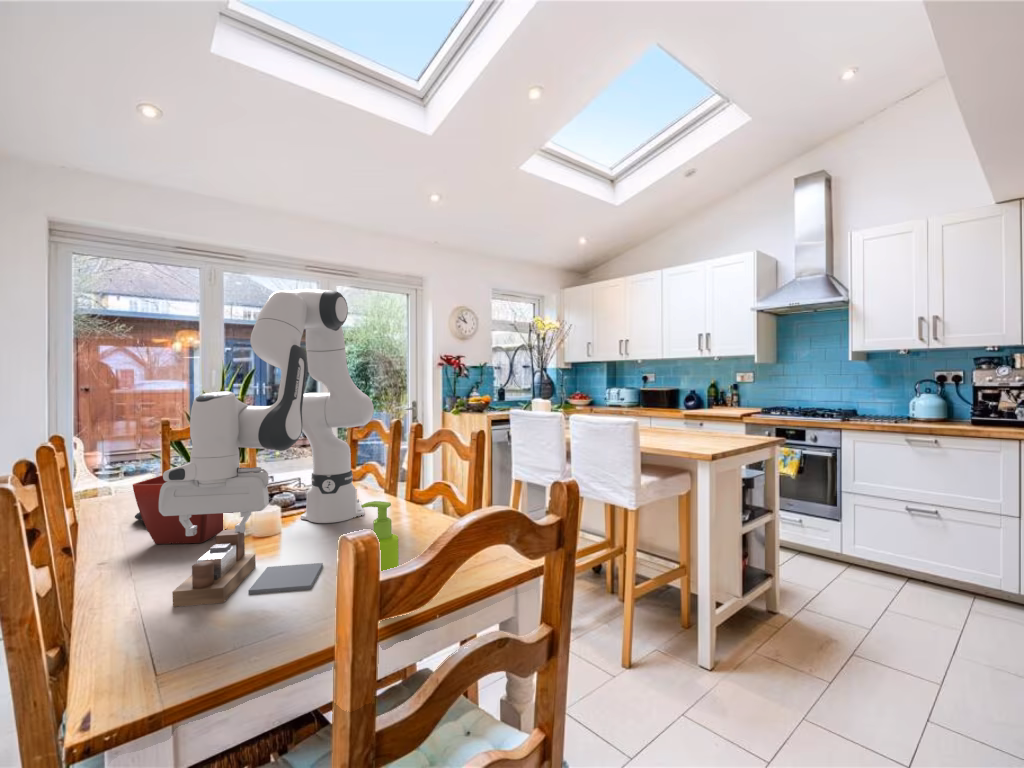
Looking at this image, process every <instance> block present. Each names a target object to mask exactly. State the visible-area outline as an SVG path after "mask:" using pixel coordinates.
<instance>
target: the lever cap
mask: <svg viewBox="0 0 1024 768" xmlns="http://www.w3.org/2000/svg"><path fill="white" fill-rule="evenodd" d="M205 561H212V562H213V563H214V574H218V578H222V577H223V576H224V575H225V574H226V573H227V572H228V571H229V570H230V569H231V568H232V567H233V566H234V565H235V564H236V545H231V544H216V543H215V544H214V545H212V546H211V547H210V548H209V550H208V551H206V553H204V554H203V555H202V556H201V557H200V558H198V559H197V560H196V562H197V563H200V562H205ZM197 563H196V564H197Z"/></svg>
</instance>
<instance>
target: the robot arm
mask: <svg viewBox="0 0 1024 768" xmlns="http://www.w3.org/2000/svg"><path fill="white" fill-rule="evenodd" d="M348 310H349V307H348V303H347V299H346V298H345V296H344V295H343V294H342V293H340V292H339V291H336V290H333V289H332V290H331V289H315V288H314V289H313V288H304V289H294V290H278V291H275V292H272V293H271V294H270V295H269V297H268V298H267V300H266V301H265V302H264V305H262V308H261V310H260V312H259V314H258V315H257V318H256V321H255V324H254V326H253V329H252V331H251V334H250V341H249V342H250V343H249V344H250V346H251V349H252V351H253V353H254V354H255V355H256V356H257V357H258V358H259V359H261V361H263V362H265V363H267V364H268V365H271V366H273V367H274V368H275V367H276V368H278V369H279V370H280V373H281V376H280V382H279V387H278V395H277V400H276V402H274V403H273V404H271V405H249V404H247V403H245V402H243V401H241V400H239V399H238V398H237V396H236V394H235V393H234V392H233V391H214V392H211V391H210V392H207V393H203V394H200V395H198V396H197V397H195V398H194V400H193V402H192V406H191V410H190V421H189V430H190V431H189V435H190V438H191V439H190V440H191V443H192V447H191V451H190V454H189V455H190V456H189V457H190V459H189V460H190V461H189V462H184V463H183V464H180V465H179V466H175V467H172V468H170V469H167V470H165V471H164V472H163V474H162V475H163V479H164V481H168V482H166V483H164V484H163V485H162V487H161V489H160V495H159V512H160V513H161V514H162V515H163V516H177V515H179V521H180V522H181V524H182V525H183V526H184V528H186V536H194V535H196V534H197V530H196V529H197V525H195V526H193V525H192V523H191V521H190V520H189V518H190V517H191V515H197V514H217V513H233V514H234V513H240V517H241V518H242V519H241V520H240V522H239V523H237V524H235V525H234V529H236V530H235V533H244V534H245V532H246V524H247V521H248V520H249V519H250V517H251V515H252V513H253V512H262V511H263V510H265V509H266V508H267V507H268V506H269V503H270V498H269V497H270V495H269V489H268V485H269V480H270V479H269V472H268V471H267V470H265V469H264V468H262V467H260V466H255V467H240V448H247V449H266V450H273V451H287V450H288V449H290V448H291V447H293V446H294V445H295V444H296V443H297V442H298V440H299V439H300V438H301V435H302V433H303V434H304V435H305V436H306V438H307V440H308V442H309V445H310V449H311V456H312V458H311V459H312V473H311V478H310V479H311V485H312V486H311V488H310V489H309V490H307V491H306V501H305V502H306V504H305V505H306V506H305V507H306V509H305V512H304V513H302V514H301V515H300V519H301V520H307V521H309V522H311V523H318V524H333V523H340V522H344V521H348V520H351V519H353V517H354V518H356V516H358V517H361V515H362V516H364V515H365V511H364V508H362V507H361V505H363V504H362V501H360V499H359V498H358V494H357V490H358V489H356V487H355V485H354V484H353V481H354V479H353V476H354V474H353V470H352V464H351V463H352V461H351V454H352V453H351V447H350V445H349V443H347V442H346V441H345V440H343V439H341V438H339V437H337V436H336V435H335V433H334V432H333V428H355V427H356V428H357V427H361V426H364V425H368V424H369V422H370V421H371V420H372V418H373V415H374V411H375V410H374V409H375V407H374V404H373V401H372V399H371V398H370V397H369V395H367V394H366V393H365V392H363V391H362V390H360V389H359V388H358V387H357V385H356V384H355V383H354V381H353V379H352V378H351V377H352V376H351V375H350V373H349V369H348V362H347V356H346V355H347V353H346V344H345V342H346V341H345V337H344V332H343V331H344V330H343V328H342V327H343V325H344V324H345V322H346V320H347V319H348V314H349V312H348ZM304 330H305V350H304V349H303V348H302V346H301V341H302V337H303V334H304ZM305 351H306V352H305ZM307 372H308V374H309V376H310V377H311V378H312V379H313V380H314V381H316V382H319V383H321V384H322V385H323V386H325V387H326V389H327V390H328V392H307V393H305V387H306V379H307Z"/></svg>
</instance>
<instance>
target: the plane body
mask: <svg viewBox="0 0 1024 768" xmlns="http://www.w3.org/2000/svg"><path fill="white" fill-rule="evenodd" d="M235 530H236V529H235V528H232V529H226V530H223V531H221V532H220V533H219V534H217V535H215V544H231V545H236V564H235V565H234V566H233V567H232V568H231V569H230V570H229V571H228V572H227V573H226V574H225V575H224V576H223V577H222V578H218V574H214V563H213V562H212V561H205V562H200V563H195V564H193V565H191V575H190V576H189V577H187V578H186V579H185V580H184V581H183V582H182V583H181V584H179V585H178V586H177V587H176V588H175V589H173V591H172V607H174V608H176V607H177V606H179V607H187V606H200V605H213V604H224V603H225V602H226V601H227V599H229V597H230V596H231V595H232V594H233V593H234V592H235V590H236V589H238V587H239V586H240V585H241V584H242V583H243V581H244V580H246V578H247V577H248V576H249V574H250V573H251V572H252V571H253V570H254V569H255V568H256V565H257V564H256V562H257V561H256V553H245V552H246V551H245V532H244V533H235Z"/></svg>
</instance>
